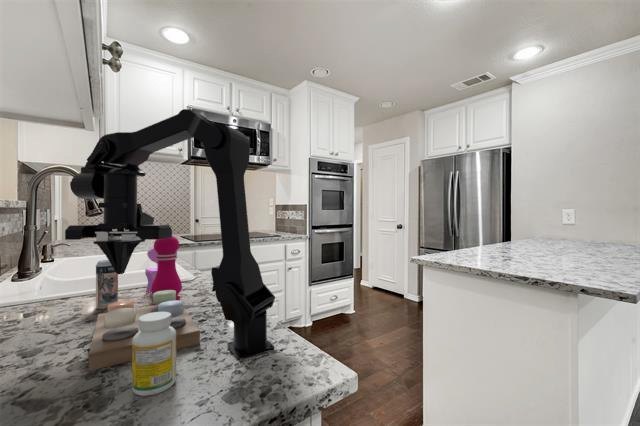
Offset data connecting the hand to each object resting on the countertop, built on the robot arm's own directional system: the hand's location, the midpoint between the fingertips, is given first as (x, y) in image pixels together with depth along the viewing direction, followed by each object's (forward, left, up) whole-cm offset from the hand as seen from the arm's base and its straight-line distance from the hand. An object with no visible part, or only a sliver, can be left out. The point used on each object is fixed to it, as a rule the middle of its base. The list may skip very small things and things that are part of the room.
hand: (120, 273), depth 60 cm
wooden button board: (-5, -4, -12) cm, 13 cm away
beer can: (+21, +3, -12) cm, 24 cm away
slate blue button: (-10, -8, -7) cm, 15 cm away
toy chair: (+29, -10, -12) cm, 33 cm away
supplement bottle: (-26, -4, -12) cm, 29 cm away
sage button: (0, -8, -7) cm, 11 cm away
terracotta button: (0, 0, -8) cm, 8 cm away
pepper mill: (+14, -10, -12) cm, 21 cm away
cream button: (-10, 0, -7) cm, 12 cm away
